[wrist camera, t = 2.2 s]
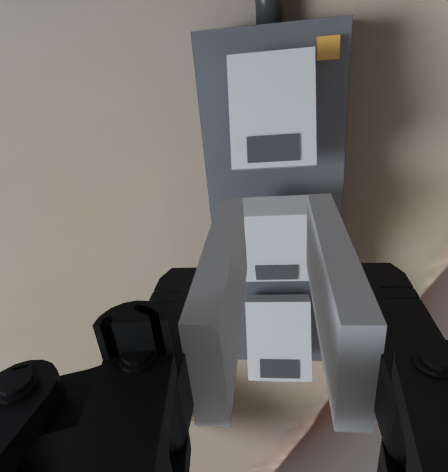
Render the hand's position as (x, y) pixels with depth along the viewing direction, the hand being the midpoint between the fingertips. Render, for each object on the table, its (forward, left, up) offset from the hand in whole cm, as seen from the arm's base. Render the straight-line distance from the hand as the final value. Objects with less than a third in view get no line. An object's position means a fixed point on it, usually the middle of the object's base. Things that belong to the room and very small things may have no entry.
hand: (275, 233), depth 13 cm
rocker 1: (-2, 0, -10) cm, 10 cm away
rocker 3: (+14, 0, -10) cm, 17 cm away
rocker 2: (+6, 0, -10) cm, 12 cm away
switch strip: (+4, 0, -16) cm, 17 cm away
